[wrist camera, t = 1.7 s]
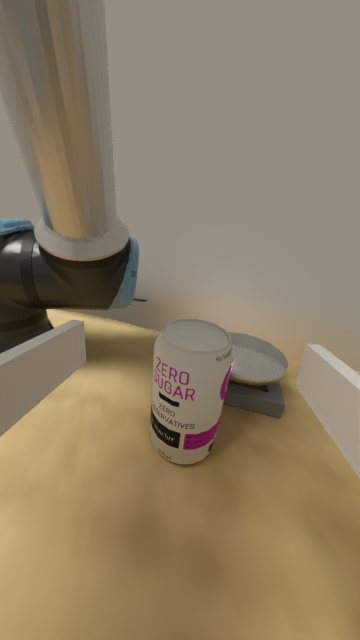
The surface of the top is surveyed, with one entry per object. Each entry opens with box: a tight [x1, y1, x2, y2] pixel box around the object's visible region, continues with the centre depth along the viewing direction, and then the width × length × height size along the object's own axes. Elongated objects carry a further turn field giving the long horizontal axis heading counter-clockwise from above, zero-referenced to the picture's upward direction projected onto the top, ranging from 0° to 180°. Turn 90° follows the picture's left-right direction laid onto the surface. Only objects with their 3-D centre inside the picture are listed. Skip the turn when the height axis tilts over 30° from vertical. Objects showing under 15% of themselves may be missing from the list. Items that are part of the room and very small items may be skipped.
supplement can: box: [150, 319, 234, 464], centre depth 25 cm, size 8×8×15 cm
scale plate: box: [227, 332, 288, 385], centre depth 38 cm, size 14×14×4 cm
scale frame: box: [223, 381, 284, 418], centre depth 39 cm, size 13×13×3 cm
